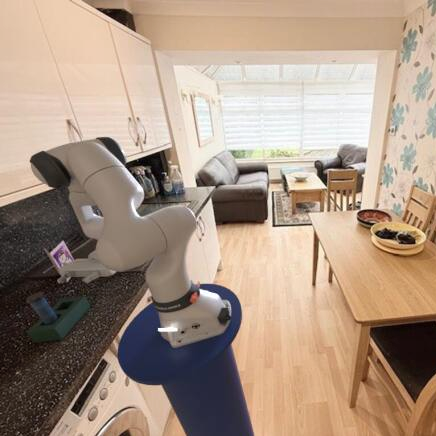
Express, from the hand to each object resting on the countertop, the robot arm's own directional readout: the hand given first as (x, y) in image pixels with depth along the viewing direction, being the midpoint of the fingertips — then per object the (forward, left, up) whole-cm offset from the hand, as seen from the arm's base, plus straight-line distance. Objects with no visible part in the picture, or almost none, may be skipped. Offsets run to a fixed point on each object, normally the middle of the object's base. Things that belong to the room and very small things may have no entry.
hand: (72, 281), depth 84 cm
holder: (+2, +8, -11) cm, 14 cm away
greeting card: (+22, -21, -11) cm, 33 cm away
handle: (+2, +11, -11) cm, 16 cm away
